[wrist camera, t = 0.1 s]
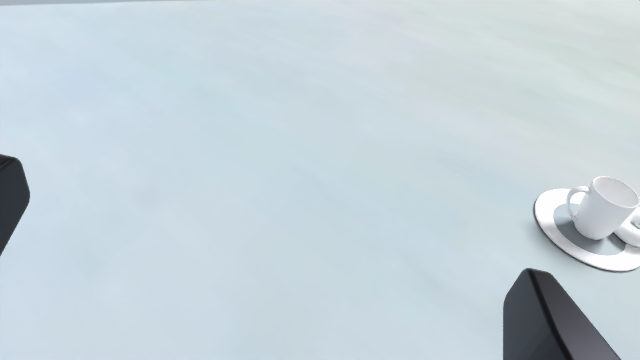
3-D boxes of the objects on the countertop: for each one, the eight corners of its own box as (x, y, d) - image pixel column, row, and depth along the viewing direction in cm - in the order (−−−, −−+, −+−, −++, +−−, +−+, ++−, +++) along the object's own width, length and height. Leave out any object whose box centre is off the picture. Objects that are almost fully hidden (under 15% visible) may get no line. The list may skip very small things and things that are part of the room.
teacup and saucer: (656, 230, 38) (690, 190, 36) (653, 301, 33) (693, 261, 30) (542, 179, 41) (567, 139, 38) (521, 238, 35) (548, 195, 32)
